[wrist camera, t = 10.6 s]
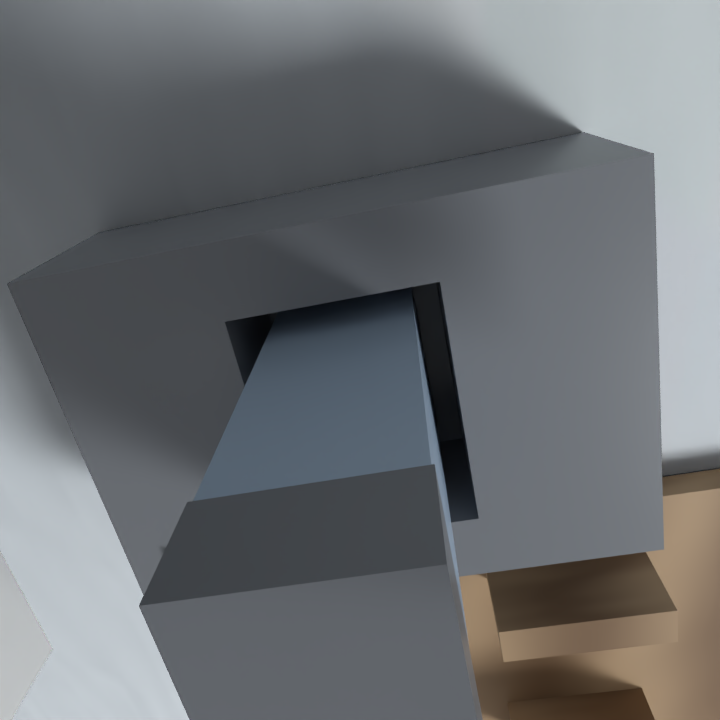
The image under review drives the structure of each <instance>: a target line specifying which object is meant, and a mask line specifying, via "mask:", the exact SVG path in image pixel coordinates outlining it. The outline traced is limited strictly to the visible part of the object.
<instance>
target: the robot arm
mask: <svg viewBox="0 0 720 720" xmlns="http://www.w3.org/2000/svg"><path fill="white" fill-rule="evenodd" d="M52 650H53V648H52V646H51V644H50V642H49V641H48V639H47V637H46V635H45V633H44V631H43V629H42V628H41V626H40V624H39V622H38V620H37V618H36V616H35V615H34V613H33V611H32V609H31V607H30V605H29V603H28V602H27V600H26V598H25V596H24V594H23V592H22V590H21V589H20V587H19V585H18V583H17V581H16V579H15V578H14V576H13V574H12V572H11V570H10V568H9V566H8V565H7V563H6V561H5V559H4V557H3V555H2V553H1V552H0V720H12V719H13V717H14V715H15V714H16V712H17V710H18V709H19V707H20V705H21V703H22V702H23V700H24V698H25V697H26V695H27V693H28V691H29V690H30V688H31V686H32V685H33V683H34V681H35V679H36V678H37V676H38V674H39V673H40V671H41V669H42V667H43V666H44V664H45V662H46V661H47V659H48V657H49V655H50V654H51V652H52Z"/></svg>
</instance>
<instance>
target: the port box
mask: <svg viewBox="0 0 720 720" xmlns="http://www.w3.org/2000/svg"><path fill="white" fill-rule="evenodd" d="M7 285H8V287H9V289H10V292H11V294H12V296H13V298H14V301H15V303H16V305H17V308H18V310H19V312H20V314H21V317H22V319H23V321H24V324H25V326H26V328H27V330H28V333H29V335H30V337H31V340H32V342H33V344H34V346H35V349H36V351H37V353H38V355H39V358H40V360H41V362H42V365H43V367H44V369H45V371H46V374H47V376H48V378H49V381H50V383H51V385H52V387H53V390H54V392H55V394H56V396H57V399H58V401H59V403H60V406H61V408H62V410H63V412H64V415H65V417H66V419H67V422H68V424H69V426H70V428H71V431H72V433H73V435H74V438H75V440H76V442H77V444H78V447H79V449H80V451H81V453H82V456H83V458H84V460H85V463H86V465H87V467H88V469H89V472H90V474H91V476H92V479H93V481H94V483H95V485H96V488H97V490H98V492H99V495H100V497H101V499H102V501H103V504H104V506H105V508H106V510H107V513H108V515H109V517H110V520H111V522H112V524H113V526H114V529H115V531H116V533H117V536H118V538H119V540H120V542H121V545H122V547H123V549H124V552H125V554H126V556H127V558H128V561H129V563H130V565H131V567H132V570H133V572H134V574H135V577H136V579H137V581H138V583H139V586H140V588H141V590H142V593H143V595H144V594H145V592H146V590H147V588H148V585H149V583H150V581H151V579H152V577H153V575H154V572H155V570H156V568H157V566H158V564H159V562H160V559H161V557H162V555H163V553H164V551H165V549H166V547H167V544H168V542H169V540H170V538H171V536H172V534H173V531H174V529H175V527H176V525H177V523H178V521H179V518H180V516H181V514H182V512H183V510H184V508H185V506H186V503H187V502H190V501H193V500H194V498H195V495H196V493H197V491H198V489H199V487H200V484H201V482H202V480H203V478H204V475H205V473H206V471H207V469H208V467H209V464H210V462H211V460H212V458H213V455H214V453H215V451H216V449H217V447H218V444H219V442H220V440H221V438H222V436H223V433H224V431H225V429H226V427H227V424H228V422H229V420H230V418H231V416H232V413H233V411H234V409H235V407H236V404H237V402H238V400H239V398H240V396H241V393H242V391H243V389H244V387H245V384H246V382H247V380H248V378H249V376H250V373H251V371H252V369H253V367H254V365H255V362H256V360H257V358H258V356H259V353H260V351H261V349H262V347H263V345H264V342H265V340H266V338H267V336H268V333H269V331H270V329H271V327H272V325H273V322H274V320H275V318H276V316H277V314H278V312H280V311H286V310H291V309H297V308H302V307H307V306H313V305H318V304H323V303H329V302H334V301H340V300H345V299H350V298H356V297H361V296H366V295H372V294H377V293H383V292H388V291H393V290H399V289H404V288H409V287H412V289H413V294H414V300H415V305H416V311H417V316H418V322H419V327H420V333H421V338H422V344H423V349H424V355H425V360H426V366H427V371H428V377H429V382H430V388H431V393H432V399H433V404H434V410H435V415H436V421H437V427H438V434H439V441H440V448H441V455H442V462H443V469H444V476H445V483H446V490H447V497H448V504H449V511H450V518H451V525H452V531H453V538H454V545H455V552H456V559H457V566H458V573H459V577H461V576H468V575H476V574H483V573H491V572H499V571H506V570H514V569H521V568H529V567H536V566H544V565H551V564H559V563H566V562H574V561H581V560H589V559H596V558H604V557H611V556H619V555H626V554H634V553H642V552H649V551H657V550H664V524H663V486H662V448H661V409H660V371H659V333H658V294H657V256H656V217H655V179H654V154H653V153H650V152H647V151H644V150H640V149H637V148H634V147H630V146H627V145H624V144H621V143H617V142H614V141H611V140H608V139H604V138H601V137H598V136H594V135H591V134H588V133H585V132H583V133H578V134H573V135H568V136H564V137H559V138H554V139H549V140H544V141H539V142H535V143H530V144H525V145H520V146H515V147H510V148H506V149H501V150H496V151H491V152H486V153H482V154H477V155H472V156H467V157H462V158H457V159H453V160H448V161H443V162H438V163H433V164H429V165H424V166H419V167H414V168H409V169H404V170H400V171H395V172H390V173H385V174H380V175H375V176H371V177H366V178H361V179H356V180H351V181H347V182H342V183H337V184H332V185H327V186H322V187H318V188H313V189H308V190H303V191H298V192H293V193H289V194H284V195H279V196H274V197H269V198H265V199H260V200H255V201H250V202H245V203H240V204H236V205H231V206H226V207H221V208H216V209H211V210H207V211H202V212H197V213H192V214H187V215H183V216H178V217H173V218H168V219H163V220H158V221H154V222H149V223H144V224H139V225H134V226H130V227H125V228H120V229H115V230H110V231H105V232H101V233H97V234H95V235H94V236H92V237H90V238H88V239H86V240H85V241H83V242H81V243H79V244H77V245H76V246H74V247H72V248H70V249H68V250H67V251H65V252H63V253H61V254H59V255H58V256H56V257H54V258H52V259H51V260H49V261H47V262H45V263H43V264H42V265H40V266H38V267H36V268H34V269H33V270H31V271H29V272H27V273H25V274H24V275H22V276H20V277H18V278H16V279H15V280H13V281H11V282H9V283H8V284H7Z"/></svg>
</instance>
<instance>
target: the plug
mask: <svg viewBox="0 0 720 720" xmlns="http://www.w3.org/2000/svg"><path fill="white" fill-rule="evenodd" d="M139 607H140V609H141V612H142V614H143V616H144V618H145V621H146V623H147V625H148V627H149V630H150V632H151V634H152V636H153V639H154V641H155V643H156V645H157V648H158V650H159V652H160V654H161V656H162V659H163V661H164V663H165V665H166V668H167V670H168V672H169V674H170V677H171V679H172V681H173V683H174V686H175V688H176V690H177V692H178V695H179V697H180V699H181V701H182V704H183V706H184V708H185V710H186V713H187V715H188V717H189V719H190V720H483V718H482V713H481V707H480V702H479V697H478V691H477V686H476V681H475V675H474V670H473V665H472V660H471V654H470V649H469V643H468V636H467V629H466V622H465V615H464V608H463V601H462V594H461V587H460V580H459V573H458V566H457V559H456V552H455V545H454V538H453V531H452V525H451V518H450V511H449V504H448V497H447V490H446V483H445V476H444V469H443V462H442V455H441V448H440V441H439V434H438V427H437V421H436V415H435V410H434V404H433V399H432V393H431V388H430V382H429V377H428V371H427V366H426V360H425V355H424V349H423V344H422V338H421V333H420V327H419V322H418V316H417V311H416V305H415V300H414V294H413V289H412V287H409V288H404V289H399V290H393V291H388V292H383V293H377V294H372V295H366V296H361V297H356V298H350V299H345V300H340V301H334V302H329V303H323V304H318V305H313V306H307V307H302V308H297V309H291V310H286V311H280V312H278V314H277V316H276V318H275V320H274V322H273V325H272V327H271V329H270V331H269V333H268V336H267V338H266V340H265V342H264V345H263V347H262V349H261V351H260V353H259V356H258V358H257V360H256V362H255V365H254V367H253V369H252V371H251V373H250V376H249V378H248V380H247V382H246V384H245V387H244V389H243V391H242V393H241V396H240V398H239V400H238V402H237V404H236V407H235V409H234V411H233V413H232V416H231V418H230V420H229V422H228V424H227V427H226V429H225V431H224V433H223V436H222V438H221V440H220V442H219V444H218V447H217V449H216V451H215V453H214V455H213V458H212V460H211V462H210V464H209V467H208V469H207V471H206V473H205V475H204V478H203V480H202V482H201V484H200V487H199V489H198V491H197V493H196V495H195V498H194V500H193V501H190V502H187V503H186V506H185V508H184V510H183V512H182V514H181V516H180V518H179V521H178V523H177V525H176V527H175V529H174V531H173V534H172V536H171V538H170V540H169V542H168V544H167V547H166V549H165V551H164V553H163V555H162V557H161V559H160V562H159V564H158V566H157V568H156V570H155V572H154V575H153V577H152V579H151V581H150V583H149V585H148V588H147V590H146V592H145V594H144V596H143V598H142V600H141V603H140V605H139Z"/></svg>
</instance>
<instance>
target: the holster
mask: <svg viewBox="0 0 720 720" xmlns="http://www.w3.org/2000/svg"><path fill="white" fill-rule="evenodd" d="M662 486H663V524H664V550H657V551H649V552H642V553H634V554H626V555H619V556H611V557H604V558H596V559H589V560H581V561H574V562H566V563H559V564H551V565H544V566H536V567H529V568H521V569H514V570H506V571H499V572H491V573H483V574H476V575H468V576H461V577H459V580H460V587H461V594H462V601H463V608H464V615H465V622H466V629H467V636H468V643H469V649H470V654H471V660H472V665H473V670H474V675H475V681H476V686H477V691H478V697H479V702H480V707H481V713H482V718H483V720H720V469H714V470H707V471H700V472H693V473H686V474H679V475H672V476H666V477H662Z"/></svg>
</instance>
